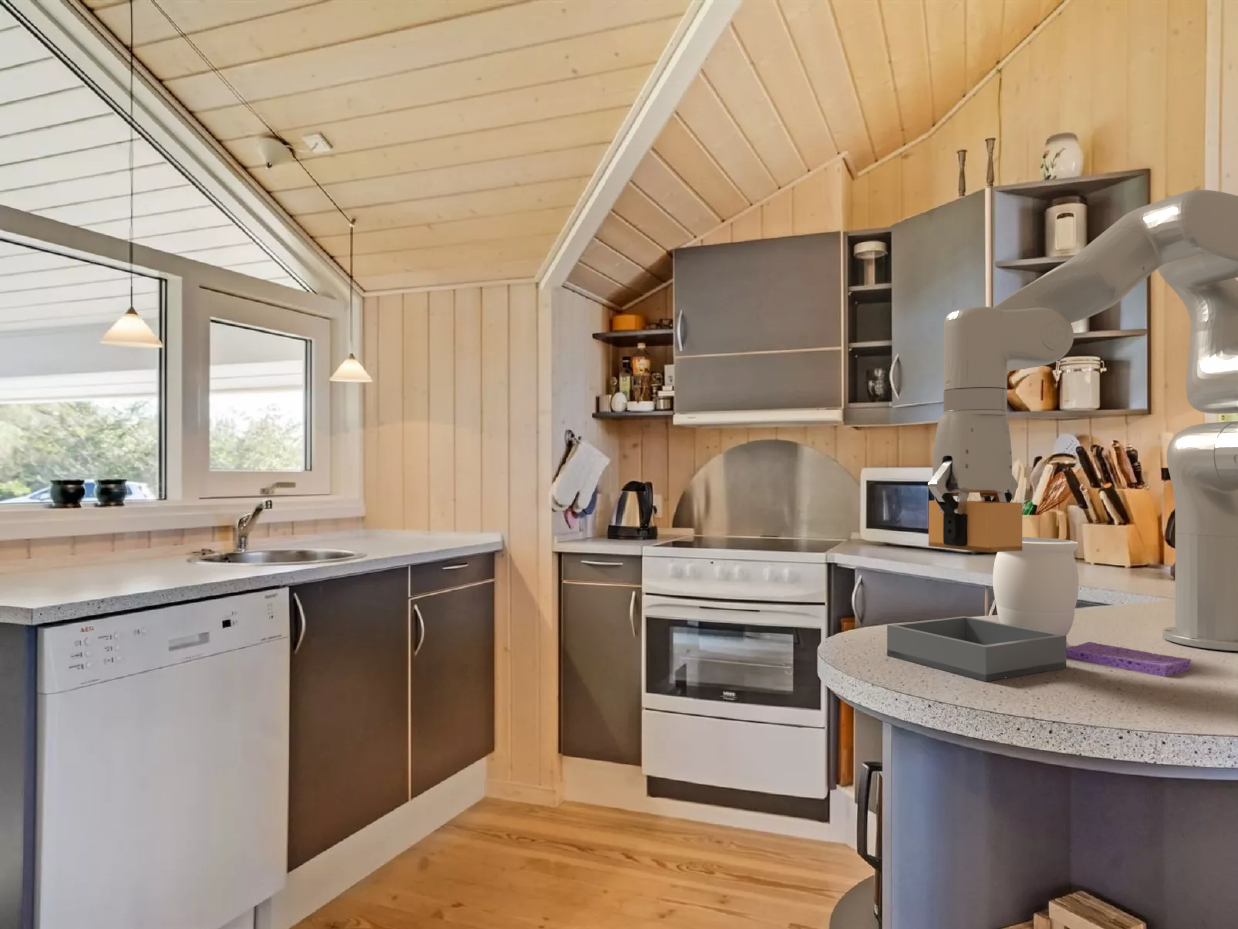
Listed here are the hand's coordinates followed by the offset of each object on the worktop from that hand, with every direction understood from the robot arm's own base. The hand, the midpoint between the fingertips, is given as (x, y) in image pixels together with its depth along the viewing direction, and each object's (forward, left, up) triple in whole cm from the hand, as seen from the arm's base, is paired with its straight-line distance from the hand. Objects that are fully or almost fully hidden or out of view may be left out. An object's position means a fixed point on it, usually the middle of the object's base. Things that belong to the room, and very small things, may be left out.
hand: (974, 543), depth 104 cm
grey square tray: (0, 0, -15) cm, 15 cm away
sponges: (-17, +9, -16) cm, 25 cm away
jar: (-15, -2, -15) cm, 22 cm away
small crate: (0, 0, -1) cm, 1 cm away
